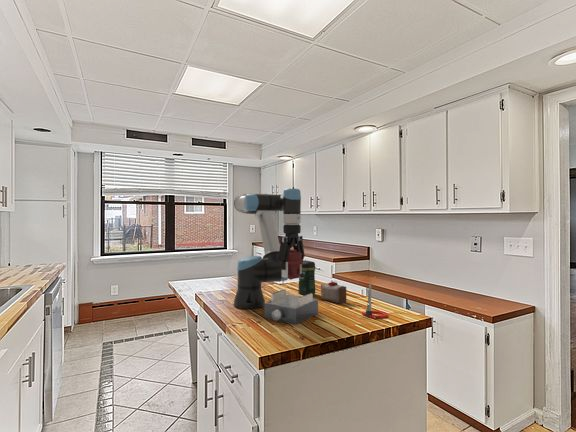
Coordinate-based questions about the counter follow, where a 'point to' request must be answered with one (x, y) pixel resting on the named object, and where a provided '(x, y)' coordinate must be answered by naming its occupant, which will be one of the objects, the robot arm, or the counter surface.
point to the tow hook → (368, 311)
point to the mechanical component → (294, 264)
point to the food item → (333, 292)
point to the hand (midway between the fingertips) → (291, 275)
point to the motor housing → (290, 307)
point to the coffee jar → (307, 278)
